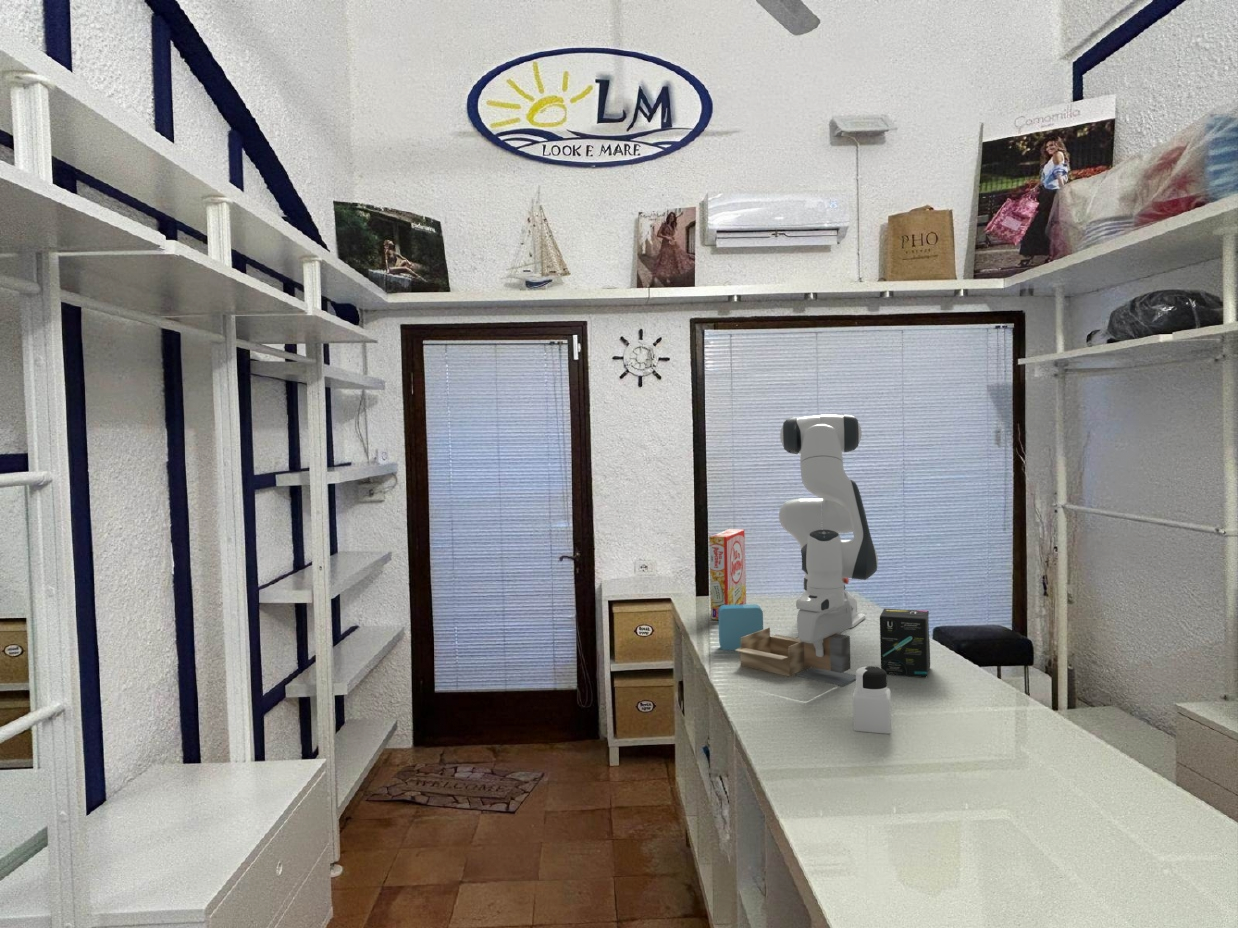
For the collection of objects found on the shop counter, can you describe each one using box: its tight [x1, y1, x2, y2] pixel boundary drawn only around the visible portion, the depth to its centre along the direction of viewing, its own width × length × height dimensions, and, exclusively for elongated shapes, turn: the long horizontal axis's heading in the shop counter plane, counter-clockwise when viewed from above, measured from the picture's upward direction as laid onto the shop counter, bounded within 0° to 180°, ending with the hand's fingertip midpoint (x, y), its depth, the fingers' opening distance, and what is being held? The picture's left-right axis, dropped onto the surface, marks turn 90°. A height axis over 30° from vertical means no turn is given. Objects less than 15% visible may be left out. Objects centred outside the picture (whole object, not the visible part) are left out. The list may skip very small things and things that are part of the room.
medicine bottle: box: [852, 665, 892, 735], centre depth 166 cm, size 7×7×12 cm
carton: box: [734, 627, 811, 677], centre depth 209 cm, size 19×15×8 cm
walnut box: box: [804, 633, 852, 673], centre depth 198 cm, size 4×10×8 cm, turn 46°
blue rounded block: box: [718, 603, 764, 651], centre depth 226 cm, size 12×4×12 cm, turn 87°
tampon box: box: [879, 608, 931, 679], centre depth 201 cm, size 11×9×15 cm
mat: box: [794, 667, 856, 688], centre depth 199 cm, size 9×13×1 cm
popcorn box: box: [708, 528, 747, 621], centre depth 268 cm, size 20×6×27 cm, turn 155°
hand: (826, 653), depth 198 cm, fingers closed on walnut box, 4 cm apart
